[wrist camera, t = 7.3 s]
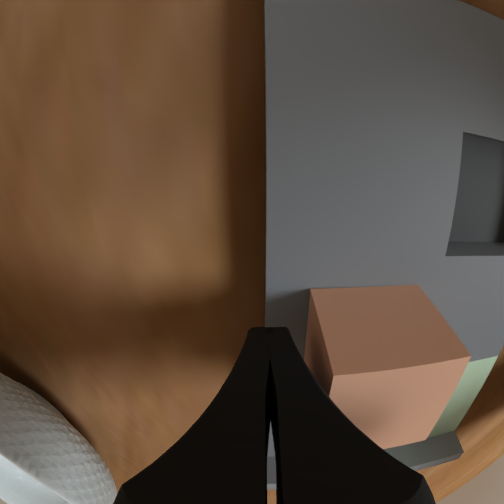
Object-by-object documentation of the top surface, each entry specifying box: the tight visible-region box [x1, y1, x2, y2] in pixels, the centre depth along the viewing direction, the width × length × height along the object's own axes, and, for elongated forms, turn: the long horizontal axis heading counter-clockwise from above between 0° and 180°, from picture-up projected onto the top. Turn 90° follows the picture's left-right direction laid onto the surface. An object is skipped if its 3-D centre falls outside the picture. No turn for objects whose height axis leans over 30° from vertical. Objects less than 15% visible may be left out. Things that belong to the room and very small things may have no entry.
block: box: [304, 284, 471, 449], centre depth 10 cm, size 4×4×4 cm
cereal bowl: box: [0, 372, 117, 504], centre depth 14 cm, size 17×17×7 cm
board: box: [264, 0, 504, 489], centre depth 11 cm, size 12×22×3 cm, turn 1°
